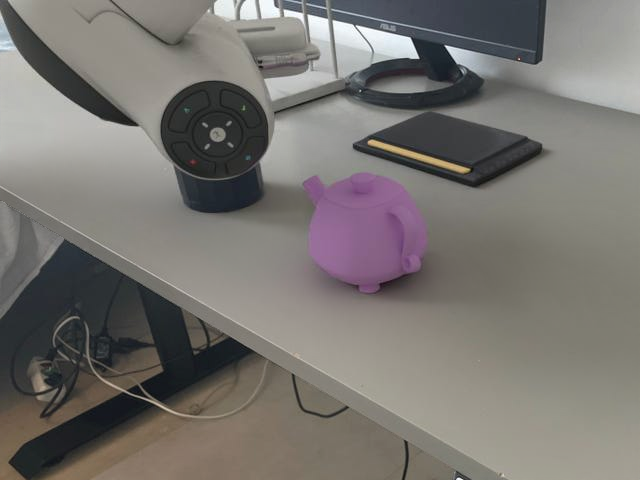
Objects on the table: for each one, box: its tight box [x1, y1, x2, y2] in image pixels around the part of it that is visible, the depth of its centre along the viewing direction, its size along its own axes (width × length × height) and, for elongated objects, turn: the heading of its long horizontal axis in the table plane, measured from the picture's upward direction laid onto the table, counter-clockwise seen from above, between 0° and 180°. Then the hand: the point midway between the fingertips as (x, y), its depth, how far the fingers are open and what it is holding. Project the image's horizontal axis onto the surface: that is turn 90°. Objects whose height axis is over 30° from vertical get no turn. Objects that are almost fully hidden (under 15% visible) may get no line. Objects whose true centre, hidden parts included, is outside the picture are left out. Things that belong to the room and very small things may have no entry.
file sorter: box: [208, 0, 347, 113], centre depth 106 cm, size 25×17×16 cm
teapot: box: [301, 171, 429, 294], centre depth 65 cm, size 10×15×9 cm
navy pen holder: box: [172, 161, 266, 213], centre depth 77 cm, size 9×9×11 cm
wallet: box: [352, 110, 543, 188], centre depth 91 cm, size 20×2×15 cm
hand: (189, 32), depth 69 cm, fingers open, 8 cm apart
